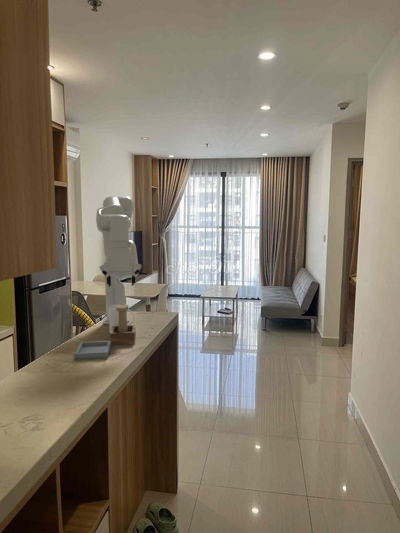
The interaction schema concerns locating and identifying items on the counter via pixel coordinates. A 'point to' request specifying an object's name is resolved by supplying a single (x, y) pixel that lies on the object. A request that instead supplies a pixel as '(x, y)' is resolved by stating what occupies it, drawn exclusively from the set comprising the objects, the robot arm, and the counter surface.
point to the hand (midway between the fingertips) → (121, 285)
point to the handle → (122, 318)
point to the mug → (116, 316)
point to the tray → (93, 350)
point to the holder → (123, 336)
